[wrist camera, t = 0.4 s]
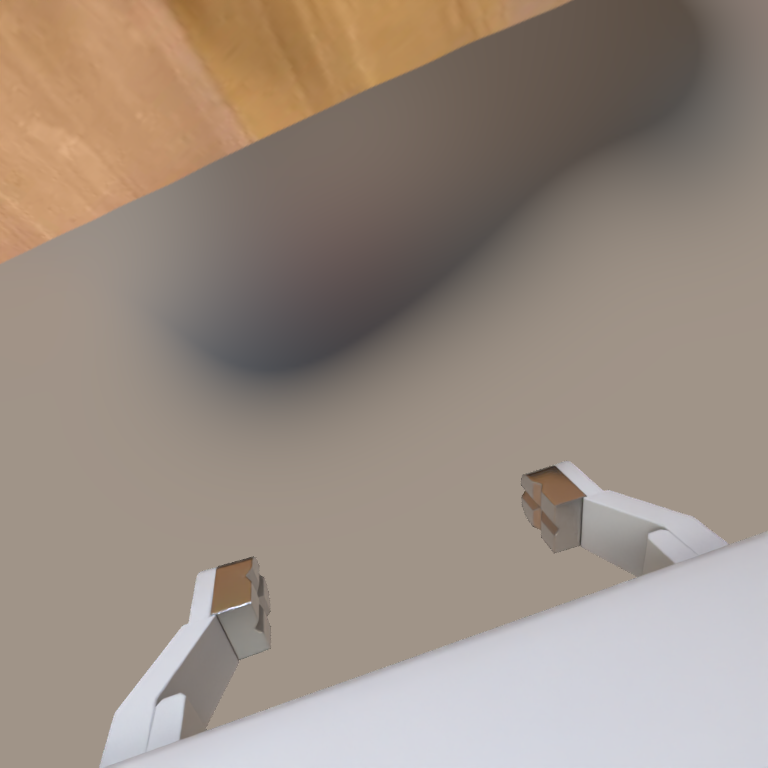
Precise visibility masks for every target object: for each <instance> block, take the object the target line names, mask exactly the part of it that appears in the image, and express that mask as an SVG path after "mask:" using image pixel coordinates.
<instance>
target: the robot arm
mask: <svg viewBox="0 0 768 768" xmlns="http://www.w3.org/2000/svg"><path fill="white" fill-rule="evenodd" d="M521 486H522V487H523V488H524V489H525V492H524V494H523V495H522V507H523V510H524V513H525V515H526V517H527V519H528V521H529V522H530V523H531V525H532V526H533V527H535V528H537V529H540V530H541V538H542V539H543V540H544V541H545V543H546V544H547V545H548V546H549V547H550V549H551V550H552V551H553V552H554V553H557V552H561V551H564V550H567V549H570V548H574V547H577V546H580V545H581V547H582V548H584V549H586V550H588V551H590V552H592V553H593V554H595V555H597V556H599V557H601V558H603V559H605V560H606V561H608V562H610V563H612V564H614V565H616V566H618V567H620V568H621V569H623V570H625V571H627V572H629V573H631V574H633V575H635V576H636V577H637V578H634V579H631V580H628V581H626V582H623V583H620V584H617V585H615V586H612V587H609V588H606V589H603V590H600V591H598V592H595V593H592V594H589V595H586V596H583V597H581V598H578V599H575V600H572V601H569V602H567V603H564V604H561V605H558V606H555V607H552V608H550V609H547V610H544V611H541V612H538V613H536V614H533V615H530V616H527V617H524V618H521V619H519V620H516V621H513V622H510V623H508V624H505V625H502V626H499V627H496V628H493V629H491V630H488V631H485V632H482V633H479V634H477V635H474V636H471V637H468V638H466V639H462V640H460V641H457V642H454V643H451V644H448V645H446V646H443V647H440V648H437V649H435V650H432V651H429V652H426V653H423V654H421V655H418V656H415V657H412V658H410V659H406V660H403V661H401V662H398V663H395V664H392V665H390V666H387V667H384V668H381V669H379V670H376V671H373V672H370V673H367V674H364V675H361V676H359V677H356V678H353V679H350V680H347V681H345V682H342V683H339V684H336V685H333V686H331V687H328V688H325V689H322V690H319V691H316V692H314V693H311V694H308V695H305V696H302V697H300V698H297V699H294V700H291V701H288V702H286V703H283V704H280V705H277V706H274V707H272V708H269V709H266V710H263V711H260V712H257V713H255V714H252V715H249V716H246V717H243V718H241V719H238V720H235V721H232V722H229V723H227V724H224V725H221V726H218V727H215V728H213V729H210V730H207V729H206V727H207V725H208V723H209V721H210V719H211V717H212V715H213V713H214V711H215V709H216V707H217V705H218V703H219V701H220V699H221V697H222V695H223V693H224V691H225V689H226V687H227V685H228V684H229V682H230V679H231V678H232V676H233V674H234V671H235V670H236V668H237V666H238V663H239V660H241V659H244V658H247V657H249V656H252V655H255V654H258V653H260V652H263V651H266V650H268V649H271V626H270V623H269V621H268V619H267V616H268V615H269V613H270V598H269V591H268V588H267V584H266V581H265V578H264V577H263V576H261V575H259V564H258V561H257V559H256V558H255V557H250V558H246V559H243V560H239V561H235V562H232V563H228V564H224V565H221V566H218V567H216V568H212V569H208V570H204V571H201V572H199V574H198V575H197V577H196V583H195V589H194V595H193V601H192V606H191V611H190V618H189V623H188V624H186V625H183V626H182V627H181V628H180V630H179V631H178V632H177V634H176V635H175V636H174V637H173V639H172V640H171V641H170V643H169V644H168V645H167V646H166V648H165V649H164V650H163V652H162V653H161V654H160V655H159V657H158V658H157V659H156V661H155V662H154V663H153V664H152V666H151V667H150V668H149V670H148V671H147V672H146V673H145V675H144V676H143V677H142V679H141V680H140V681H139V682H138V684H137V685H136V687H135V688H134V689H133V690H132V691H131V693H130V694H129V695H128V697H127V698H126V699H125V701H124V702H123V703H122V705H121V706H120V707H119V708H118V709H117V711H116V712H115V714H114V717H113V721H112V724H111V727H110V731H109V734H108V738H107V741H106V745H105V748H104V752H103V755H102V759H101V762H100V766H99V768H768V531H766V532H763V533H760V534H758V535H755V536H752V537H749V538H746V539H744V540H741V541H738V542H735V543H732V544H728V543H727V542H726V541H724V540H723V539H722V538H720V537H719V536H718V535H716V534H715V533H714V532H713V531H711V530H710V529H709V528H707V527H706V526H705V525H704V524H702V523H701V522H700V521H698V520H697V519H695V518H694V517H692V516H689V515H686V514H683V513H679V512H677V511H673V510H670V509H667V508H664V507H661V506H657V505H654V504H651V503H648V502H645V501H642V500H639V499H635V498H632V497H629V496H626V495H623V494H620V493H616V492H613V491H610V490H606V491H603V490H602V489H601V488H600V487H599V486H597V485H596V484H595V483H594V482H593V481H592V480H590V478H588V477H587V476H586V475H585V474H584V473H583V472H582V471H580V470H579V469H578V468H577V467H576V466H575V465H574V464H573V463H571V462H570V461H564V462H561V463H558V464H555V465H552V466H549V467H546V468H543V469H540V470H536V471H533V472H530V473H527V474H523V475H522V478H521Z"/></svg>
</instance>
